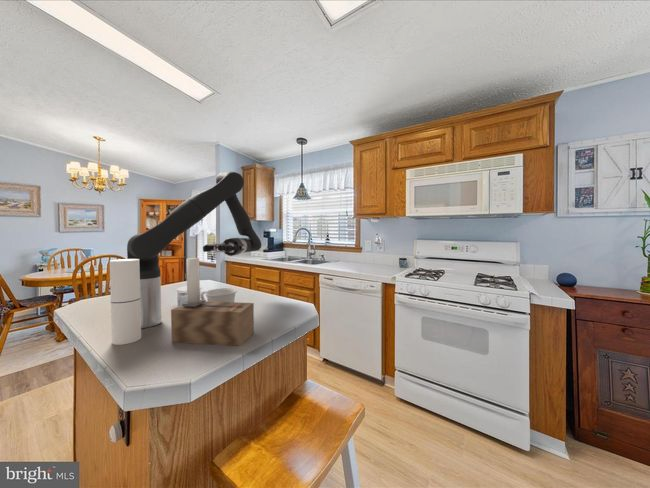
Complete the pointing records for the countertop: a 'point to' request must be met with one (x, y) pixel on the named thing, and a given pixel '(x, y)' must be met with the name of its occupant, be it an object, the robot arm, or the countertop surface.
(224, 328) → the brown rectangular block
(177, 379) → the countertop surface
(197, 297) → the lever
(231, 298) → the teacup
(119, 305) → the cylindrical container
